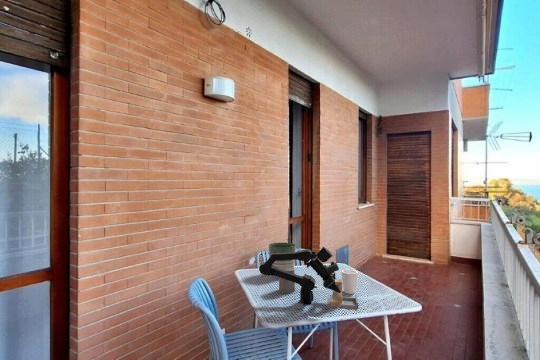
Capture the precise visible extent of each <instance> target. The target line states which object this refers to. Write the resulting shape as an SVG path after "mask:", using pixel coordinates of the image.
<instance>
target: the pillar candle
mask: <svg viewBox="0 0 540 360" xmlns="http://www.w3.org/2000/svg"><path fill="white" fill-rule="evenodd" d="M279 269H282V270H284V271H287V272H290V273H293V274H296V273H295V267H294V268H293V267H280V268H279ZM278 291H279V293H282V292H283V294H292V293H294V292H295V291H296V283H294V282H291V281H289V280H286V279H283V278H280V277H278Z"/></svg>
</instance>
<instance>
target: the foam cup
mask: <svg viewBox="0 0 540 360" xmlns="http://www.w3.org/2000/svg"><path fill="white" fill-rule="evenodd" d="M358 276H359V272H358V271H357V270H356V269H342V270H341V277H342V279H341V280H342V288H343V292H344V293H346V294H351V295H352V294H356V292H357V282H358Z"/></svg>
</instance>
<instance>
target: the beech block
mask: <svg viewBox="0 0 540 360" xmlns="http://www.w3.org/2000/svg"><path fill="white" fill-rule="evenodd" d="M335 284H336V285H337V287H338V288H339V290H340V291H341V292H340V293H338V292H336V291H333V290H332V299H333V304H336V305H341V304H342V297H343V280H342V279H341V278H340V279H338V278H336V279H335Z"/></svg>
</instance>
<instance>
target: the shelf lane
mask: <svg viewBox="0 0 540 360" xmlns="http://www.w3.org/2000/svg"><path fill="white" fill-rule="evenodd" d="M326 306H327V307H331V308H344V309H359V299H358V294H355V296H354V297H352V296H342V304H341V305H336V304H333V298H329V297H328V298H327V303H326Z"/></svg>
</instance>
